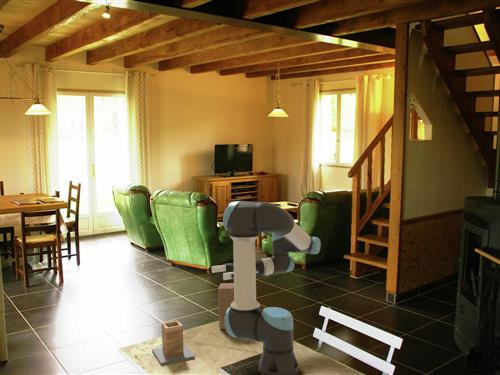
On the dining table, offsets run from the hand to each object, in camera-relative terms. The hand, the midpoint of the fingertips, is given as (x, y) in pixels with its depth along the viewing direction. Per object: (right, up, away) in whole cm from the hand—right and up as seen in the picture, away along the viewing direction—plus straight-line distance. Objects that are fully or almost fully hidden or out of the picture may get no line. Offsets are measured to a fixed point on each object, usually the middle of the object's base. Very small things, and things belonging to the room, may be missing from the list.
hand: (217, 273), depth 207 cm
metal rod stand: (-18, -33, -6) cm, 38 cm away
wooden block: (+4, -30, +25) cm, 40 cm away
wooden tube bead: (-18, -32, -6) cm, 37 cm away
